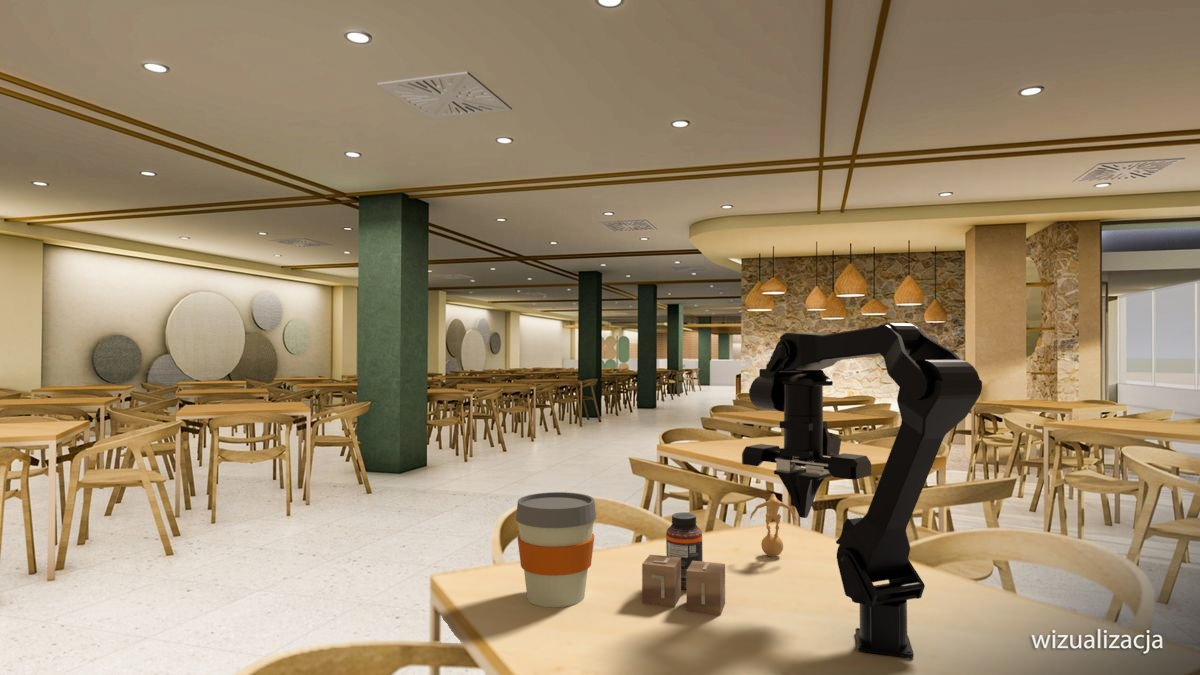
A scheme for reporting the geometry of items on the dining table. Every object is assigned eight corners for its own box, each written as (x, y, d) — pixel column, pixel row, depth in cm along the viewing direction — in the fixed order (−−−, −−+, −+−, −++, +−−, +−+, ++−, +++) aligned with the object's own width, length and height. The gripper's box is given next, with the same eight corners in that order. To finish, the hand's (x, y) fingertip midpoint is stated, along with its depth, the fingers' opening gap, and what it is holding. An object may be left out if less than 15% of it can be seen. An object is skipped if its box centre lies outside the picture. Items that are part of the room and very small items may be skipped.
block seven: (674, 608, 100) (674, 566, 100) (641, 604, 101) (641, 563, 101) (681, 596, 105) (681, 556, 105) (650, 592, 106) (650, 553, 106)
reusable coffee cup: (606, 607, 100) (606, 506, 100) (522, 616, 96) (523, 511, 97) (584, 579, 112) (584, 489, 112) (509, 587, 108) (510, 494, 109)
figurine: (793, 553, 126) (793, 490, 127) (798, 563, 120) (798, 496, 121) (748, 552, 128) (748, 489, 128) (751, 561, 122) (751, 495, 122)
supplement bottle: (679, 575, 114) (678, 508, 114) (709, 582, 110) (709, 514, 111) (659, 584, 110) (659, 515, 110) (690, 592, 106) (690, 521, 106)
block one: (720, 616, 96) (720, 573, 97) (686, 612, 98) (686, 569, 98) (725, 603, 101) (725, 562, 102) (692, 599, 103) (692, 559, 103)
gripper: (886, 415, 101) (886, 518, 101) (775, 408, 114) (776, 499, 114) (854, 420, 93) (854, 533, 93) (739, 412, 106) (740, 510, 106)
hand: (803, 517), depth 102 cm, fingers closed
